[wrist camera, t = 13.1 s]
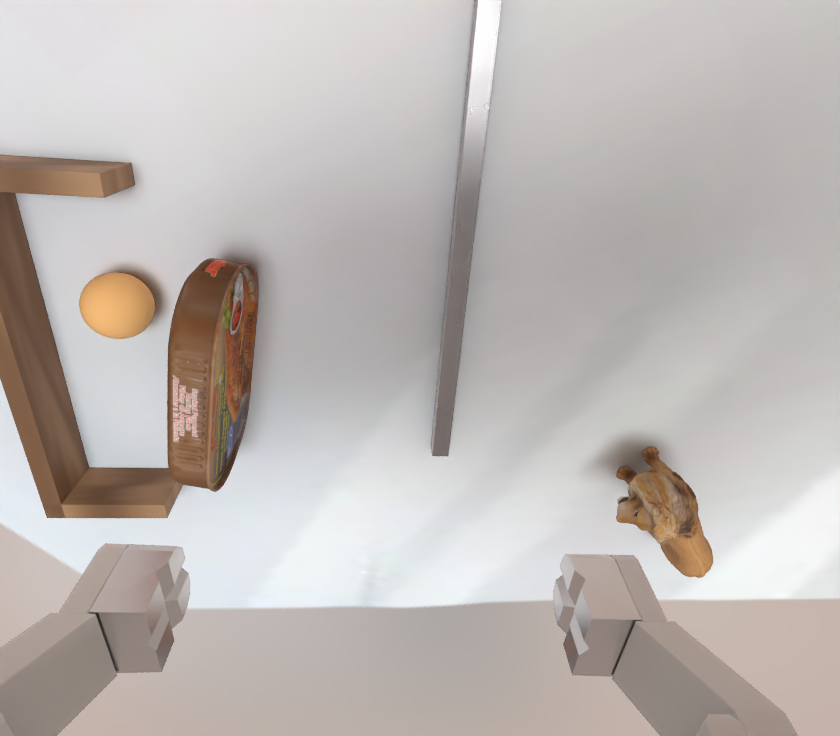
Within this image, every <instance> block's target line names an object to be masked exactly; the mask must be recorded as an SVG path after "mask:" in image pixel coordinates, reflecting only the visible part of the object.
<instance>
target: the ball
mask: <svg viewBox="0 0 840 736" xmlns="http://www.w3.org/2000/svg"><path fill="white" fill-rule="evenodd" d="M79 306H80V312H81V315H82V317H83V319H84V321H85V322H86V323H87V325H88V326H89V327H90V328H91V329H93V330H94V331H95V332H97V333H99V334H101V335H103V336H106V337H109V338H115V339H124V338H129V337H133V336H135V335H138V334H139V333H141V332H142V331H144V330H145V329H146V328H147V327H148V326H149V324H150V323H151V321H152V319H153V317H154V313H155V302H154V298H153V295H152V293H151V292H150V290H149V288H148V287H147V286H146V285H145V284H144V283H143V282H142V281H140V280H139V279H137V278H136V277H134V276H131V275H128V274H125V273H117V272H112V273H105V274H102V275H99V276H97V277H95V278H94V279H92V280H91V281H90V282H89V283H88V284H87V285H86V286H85V287H84V289H83V291H82V293H81V296H80V301H79Z"/></svg>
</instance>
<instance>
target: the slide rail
mask: <svg viewBox="0 0 840 736" xmlns="http://www.w3.org/2000/svg"><path fill="white" fill-rule="evenodd" d="M501 3H502V0H475V4H474V14H473V25H472V35H471V45H470V55H469V65H468V75H467V86H466V96H465V106H464V116H463V126H462V136H461V146H460V157H459V167H458V177H457V187H456V197H455V207H454V218H453V228H452V238H451V248H450V258H449V268H448V279H447V289H446V299H445V309H444V319H443V329H442V340H441V350H440V360H439V370H438V380H437V390H436V401H435V411H434V421H433V431H432V441H431V450H432V456H448V453H449V444H450V436H451V427H452V419H453V410H454V402H455V393H456V385H457V376H458V368H459V359H460V351H461V342H462V334H463V325H464V317H465V308H466V300H467V291H468V283H469V274H470V266H471V257H472V249H473V240H474V232H475V224H476V215H477V207H478V198H479V190H480V181H481V173H482V164H483V156H484V147H485V139H486V130H487V122H488V113H489V105H490V96H491V88H492V79H493V71H494V62H495V54H496V45H497V37H498V28H499V20H500V11H501Z"/></svg>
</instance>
